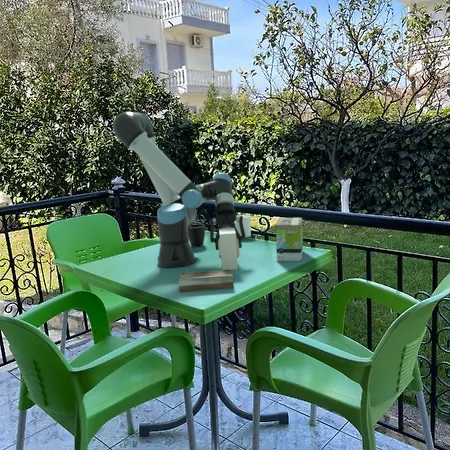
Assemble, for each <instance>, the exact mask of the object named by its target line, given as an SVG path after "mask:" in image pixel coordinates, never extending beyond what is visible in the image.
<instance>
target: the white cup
mask: <svg viewBox="0 0 450 450" xmlns="http://www.w3.org/2000/svg"><path fill="white" fill-rule="evenodd" d="M240 216H243V227H244V232H245V239H246V238H249V237H251V236H252V235H251V231H252V216H251V215H249V214H239V215H236V217H240ZM234 225H235V227H236V229H237V230H238V232H239V234H240V236H241V231H240V226H239V223H238V222H237V220H236V221H235V222H234Z"/></svg>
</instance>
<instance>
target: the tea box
mask: <svg viewBox="0 0 450 450" xmlns="http://www.w3.org/2000/svg"><path fill="white" fill-rule="evenodd" d="M275 237H276V238H275V239H276V243H275V244H276V261H277V262H301V261H302V258H303V252H304V238H303V237H304V236H303V217H279V218H278V219H277V222H276V224H275Z"/></svg>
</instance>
